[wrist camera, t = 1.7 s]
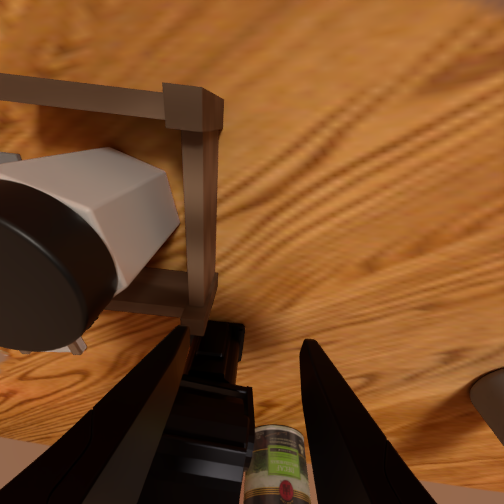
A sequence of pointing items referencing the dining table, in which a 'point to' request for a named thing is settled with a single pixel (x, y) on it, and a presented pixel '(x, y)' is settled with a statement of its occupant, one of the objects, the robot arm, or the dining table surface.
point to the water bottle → (490, 401)
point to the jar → (74, 240)
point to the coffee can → (277, 468)
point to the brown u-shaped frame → (194, 177)
